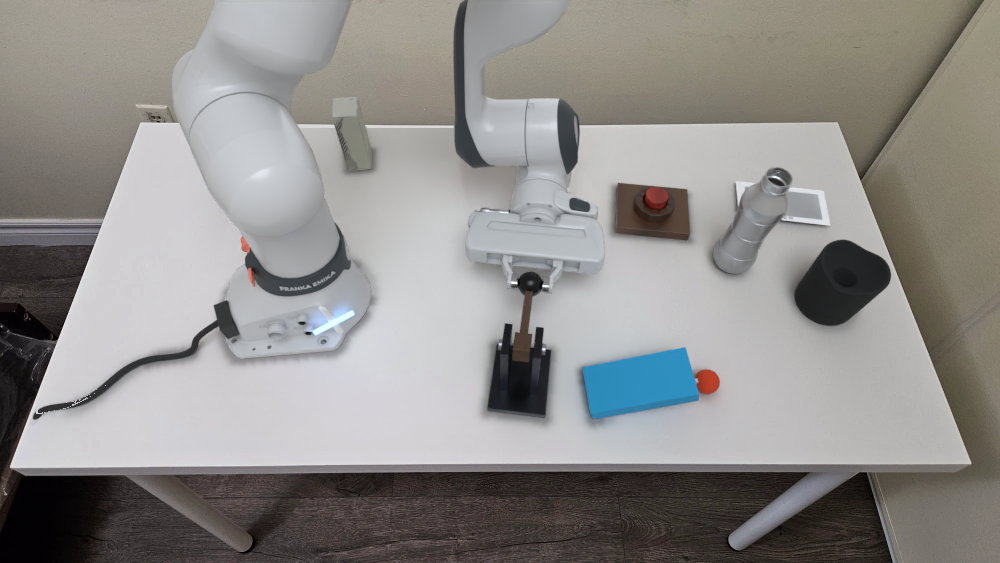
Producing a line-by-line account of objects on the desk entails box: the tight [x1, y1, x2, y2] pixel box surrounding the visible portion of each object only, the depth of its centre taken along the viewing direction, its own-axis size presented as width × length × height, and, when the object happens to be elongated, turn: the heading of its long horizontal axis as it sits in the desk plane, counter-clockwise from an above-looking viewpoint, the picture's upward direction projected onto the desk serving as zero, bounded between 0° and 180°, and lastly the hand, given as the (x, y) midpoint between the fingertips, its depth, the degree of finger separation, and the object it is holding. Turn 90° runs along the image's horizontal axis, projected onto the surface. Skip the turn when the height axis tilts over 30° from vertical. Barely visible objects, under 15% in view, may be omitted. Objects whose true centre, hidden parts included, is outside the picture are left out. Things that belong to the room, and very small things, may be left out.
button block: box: [614, 182, 691, 241], centre depth 98 cm, size 12×10×4 cm
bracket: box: [486, 322, 552, 419], centre depth 77 cm, size 10×8×13 cm
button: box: [644, 186, 668, 210], centre depth 96 cm, size 4×4×2 cm
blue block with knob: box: [582, 346, 721, 420], centre depth 80 cm, size 7×7×18 cm
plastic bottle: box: [712, 166, 794, 275], centre depth 85 cm, size 6×7×20 cm
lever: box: [512, 270, 543, 362], centre depth 77 cm, size 14×4×4 cm, turn 173°
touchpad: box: [735, 180, 831, 227], centre depth 99 cm, size 8×15×2 cm, turn 81°
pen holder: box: [794, 239, 892, 326], centre depth 85 cm, size 9×9×10 cm
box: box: [331, 96, 373, 172], centre depth 101 cm, size 5×4×13 cm
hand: (529, 289), depth 80 cm, fingers closed on lever, 3 cm apart
